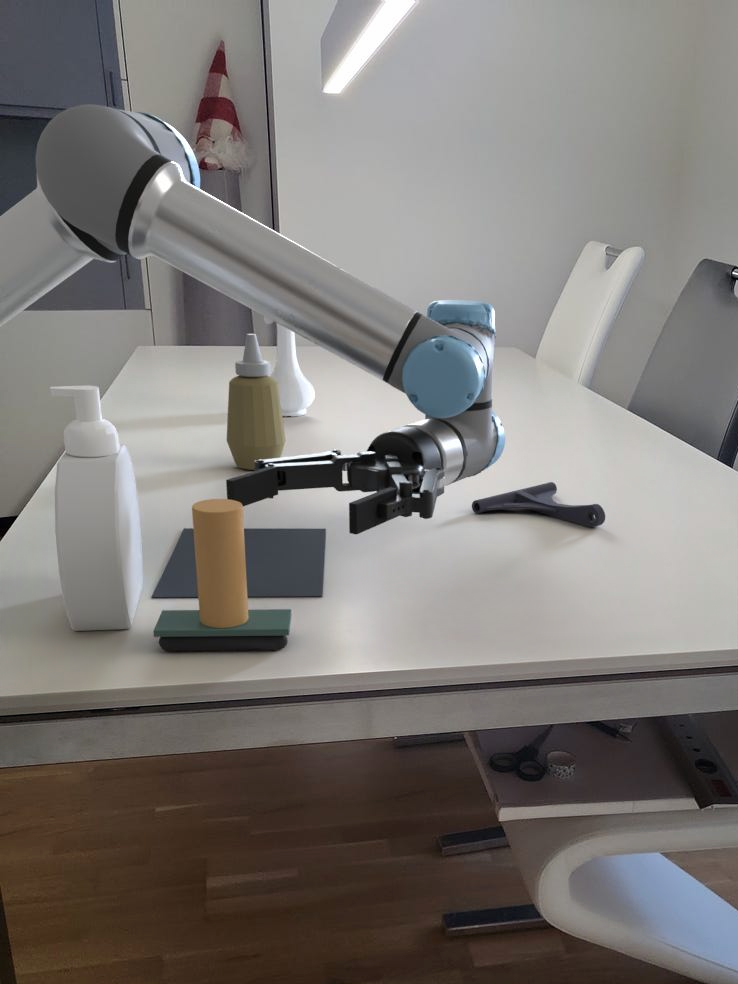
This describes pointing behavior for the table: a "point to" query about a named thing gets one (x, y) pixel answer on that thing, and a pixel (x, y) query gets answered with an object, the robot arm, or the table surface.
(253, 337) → the squeeze bottle
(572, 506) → the bracket
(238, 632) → the wiper
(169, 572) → the wipe mat
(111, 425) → the soap bottle
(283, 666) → the table surface
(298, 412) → the flower vase
